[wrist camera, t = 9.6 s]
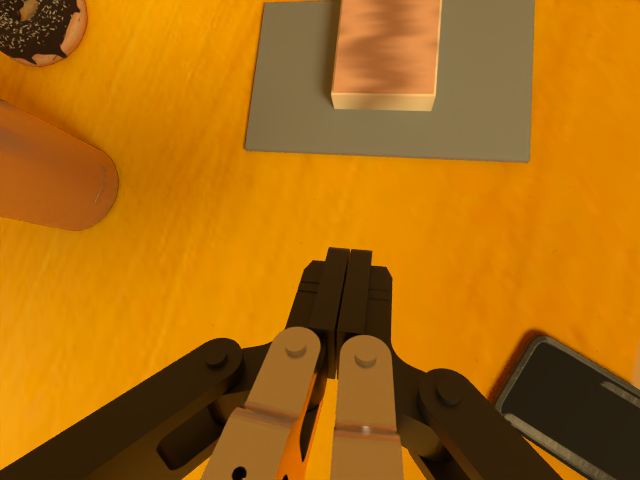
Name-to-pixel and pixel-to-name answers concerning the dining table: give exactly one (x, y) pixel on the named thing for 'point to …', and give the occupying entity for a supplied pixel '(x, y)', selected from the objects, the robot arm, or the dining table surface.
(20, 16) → the donut
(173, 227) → the dining table surface
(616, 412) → the phone
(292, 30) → the mat
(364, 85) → the tan wooden block
